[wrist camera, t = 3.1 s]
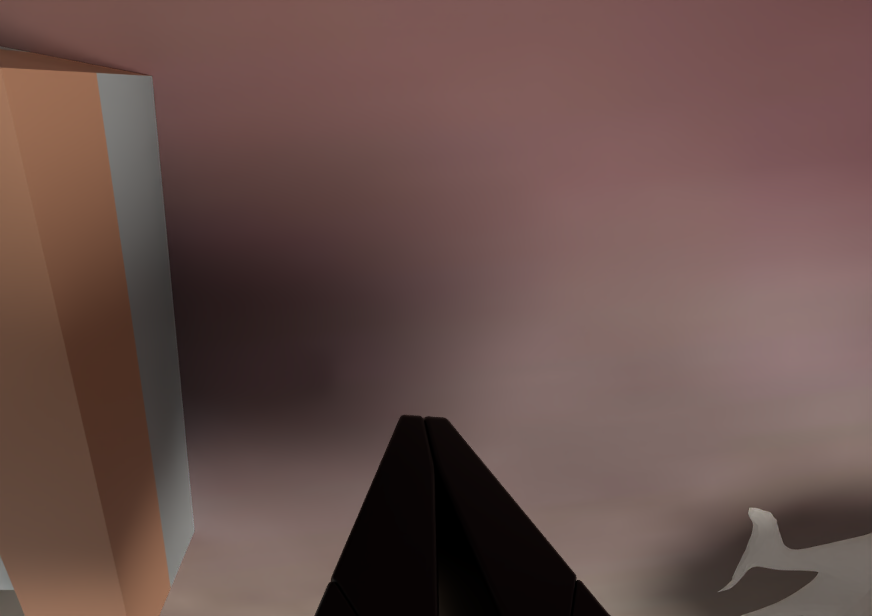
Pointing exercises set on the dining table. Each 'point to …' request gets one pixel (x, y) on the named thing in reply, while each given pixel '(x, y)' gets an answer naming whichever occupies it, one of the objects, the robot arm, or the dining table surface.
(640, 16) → the dining table surface
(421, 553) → the robot arm
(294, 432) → the dining table surface
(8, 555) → the orange and grey box
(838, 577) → the tree stump
